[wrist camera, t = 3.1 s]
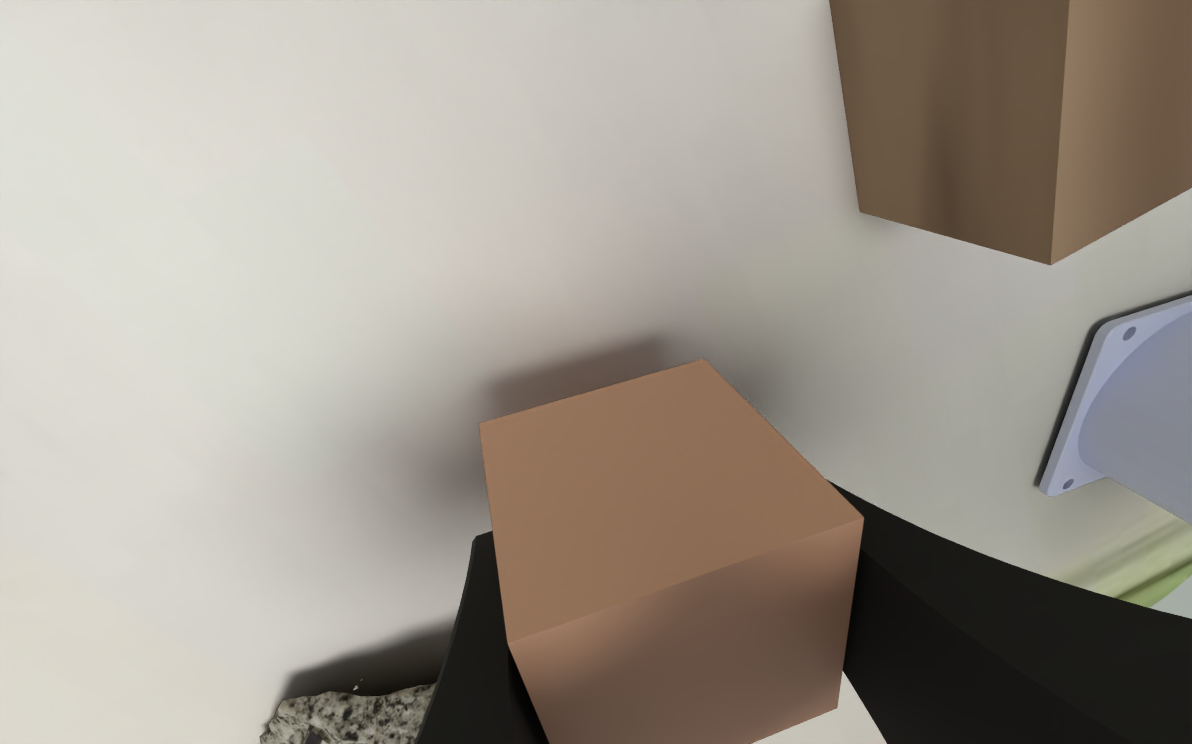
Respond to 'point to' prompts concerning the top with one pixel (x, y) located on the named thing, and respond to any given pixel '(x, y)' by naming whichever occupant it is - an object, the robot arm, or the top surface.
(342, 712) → the rock sample
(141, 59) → the top surface
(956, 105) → the walnut block
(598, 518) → the terracotta block
